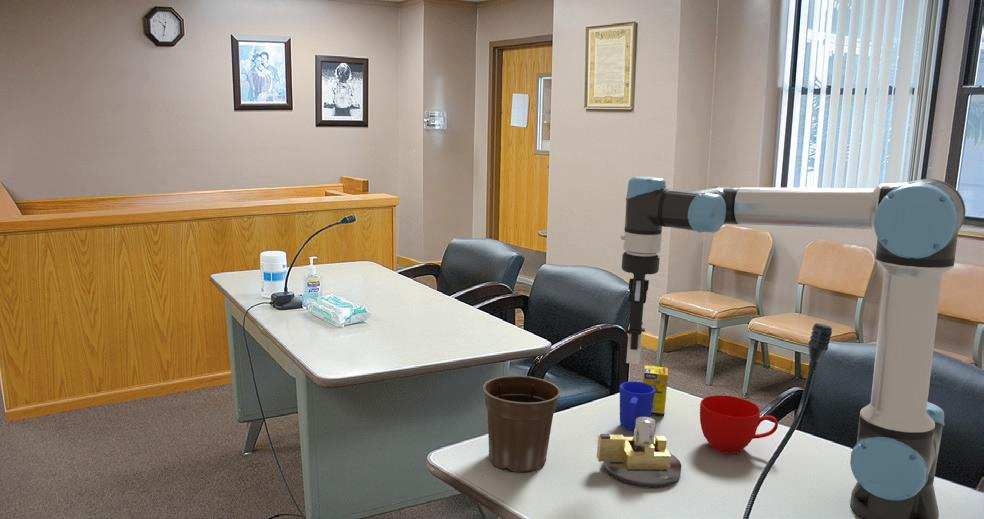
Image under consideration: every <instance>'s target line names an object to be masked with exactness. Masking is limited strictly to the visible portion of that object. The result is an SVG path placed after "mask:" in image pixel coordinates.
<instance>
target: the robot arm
mask: <svg viewBox="0 0 984 519" xmlns="http://www.w3.org/2000/svg"><path fill="white" fill-rule="evenodd" d="M666 184H667V182H666V180H665V179H664V178H662V177H656V176H644V175H643V176H642V175H641V176H633V177H631V178H630V179H629V180H628V183H627V192H626V197H625V220H624V232H623V234H622V235H621V236H620V239H621V240H623V246H622V247H623V250H624V251H623V253H622V255H621V256H622V258H621V269H622V271H623V272H624V273H628V274H633V277H631V278H629V281H628V290H629V295H628V301H629V302H630V306H629V307H630V309H629V311H630V312H629V324H628V329H625V334H627V335H628V336H627V347H626V361H625V363H626V364H633V365H640V362H641V351H642V350H641V348H642V335H643V334H642V333H643V332H644V333H645V332H646V328H645V327H643V325H644V324H643V318H644V317H643V315H644V304H645V303H647V302H646V301H647V294H648V290H649V285H650V283H649V282H650V280H649V279H646V275H655V274H657V273H658V272H659V269H660V258H661V257H660V255H659V253H660V252H661V249H662V248H661V246H662V238H663V237H662V236H663V233H662V232H663V231H662V230H663V228H674V229H680V230H685V231H686V230H688V231H692V232H693V231H695V232H697V233H716V232H718V231H720V230H721V228H722V226H723V225H752V226H753V225H754V226H777V227H780V226H781V227H803V228H805V227H806V228H827V229H828V228H830V229H831V228H832V229H833V228H834V229H855V230H856V229H857V230H858V229H859V230H873V231H874V233H875V237H877V238H876V248H875V251H876V252H875V258H874V260H875V262H876V263H877V264H878V265H879V266H880V267H881V268H882V270H883V278H882V288H881V297H880V298H881V299H880V307H879V318H878V327H877V328H878V329H877V335H876V336H877V337H876V338H877V339H876V347H875V357H874V358H875V359H874V366H873V376H872V377H873V378H872V387H871V397H870V403H869V404H867V405H866V406H863V407H862V408H861V409H860V412H859V419H858V428H857V438H856V444H855V445H854V447H853V448H852V450H851V453H850V461H849V462H850V468H851V473H852V475H853V476H854V477H853V478H855V480H856V481H857V482H856V483H855V485H854V487H853V488H852V491H851V494H850V500H849V505H850V507H851V509H852V510H853V511H854V512H855V513H856V515H858V516H859V517H860V516H861V517H860V518H862V519H863V518H864V519H939V517H940V512H939V511H940V510H939V507H938V506H939V505H938V501H937V496H936V493H935V492H936V491H935V487H934V482H935V476H936V470H937V463H938V458H939V451H940V447H941V440H942V434H943V427H945V412H944V410H943V409H942V408H941V407H940V406H939V405H936V404H934V403H932V402H929V401H928V399H929V391H930V385H931V384H930V383H931V376H932V374H931V373H932V366H933V356H934V350H935V349H934V348H935V340H936V331H937V323H938V322H937V321H938V315H939V314H938V313H939V304H940V296H941V288H942V287H941V286H942V281H943V280H942V279H943V276H944V275H945V274H946V273H947V272H949V271H950V270H952V269H953V268H954V267H955V261H956V252H957V244H958V235H959V231H960V229H962V226H963V224H964V221H965V218H966V205H965V201H964V199H963V197H962V195H961V194H960V192H959V191H958V190H957V189H956V188H954V186H952V185H951V184H949V183H947V182H946V181H943V180H939V179H936V178H935V179H933V178H923V179H922V178H921V179H916V180H913V181H905V182H882V183H880V184H879V185H878V186H877V187H874V188H870V187H869V188H867V187H866V188H860V187H858V188H855V187H853V188H852V187H851V188H850V187H848V188H847V187H843V188H841V187H836V188H835V187H728V186H725V185H722V186H721V185H720V186H719V185H718V186H717V185H716V186H712V187H709V188H706V189H705V188H704V189H700V190H692V191H691V190H679V189H675V190H674V189H670V188H667V185H666Z"/></svg>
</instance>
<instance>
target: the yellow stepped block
mask: <svg viewBox="0 0 984 519" xmlns="http://www.w3.org/2000/svg"><path fill="white" fill-rule="evenodd" d="M597 435H598V436H597V447H596V448H597V451H596V459H597V462H603V463H604V462H623V464H624V465H625V467H626V469H656V470H670V461H671V455H670V454H669V453H670V452H669V450H668V449H667V439H666V437H665V436H664V435H661V436H659V435H656V436H654V445H653V444H643V449H642V452H634V451H633V450H634V438H635V429H634V431H633V436H624V435H623V434H610V433H600V434H597Z"/></svg>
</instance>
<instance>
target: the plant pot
mask: <svg viewBox="0 0 984 519" xmlns="http://www.w3.org/2000/svg"><path fill="white" fill-rule="evenodd" d="M482 391H483V393H484V396H485V397H484V398H485V407H486V410H487V411H486V412H487V429H488V430H487V431H488V434H487V435H488V436H487V437H488V458H489V460H490V462H491V463H492V464H493V465H494V466H496V467H497V468H499V469H502V470H505V469H509V470H510V471H511V472H517V473H519V472H520V473H521V472H522V473H524V472H525V473H527V472H532V471H535V470H539V469H540V468H543V466H544V464H545V463H546V462H547V455H548V450H549V449H548V448H549V443H550V435H551V430H552V425H553V424H552V423H553V420H554V413H555V412H556V409H557V403H558V400H559V398H560V397H561V393H562V392H561V389H560V388H559V386H558V385H556V384H554V383H553V382H550V381H548V380H546V379H542V378H538V377H534V376H528V375H527V376H525V375H505V376H498V377H494V378H491V379H489V380H486V382H484V384H483V386H482Z"/></svg>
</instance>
